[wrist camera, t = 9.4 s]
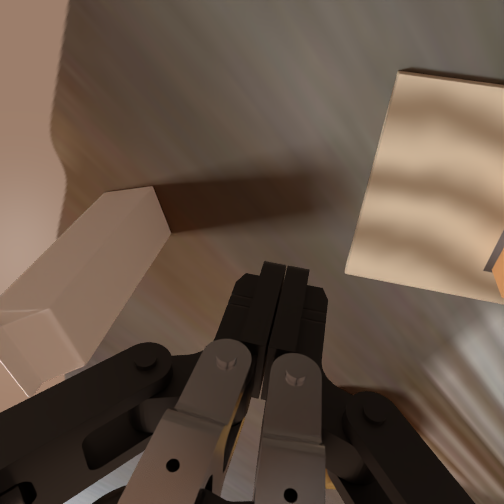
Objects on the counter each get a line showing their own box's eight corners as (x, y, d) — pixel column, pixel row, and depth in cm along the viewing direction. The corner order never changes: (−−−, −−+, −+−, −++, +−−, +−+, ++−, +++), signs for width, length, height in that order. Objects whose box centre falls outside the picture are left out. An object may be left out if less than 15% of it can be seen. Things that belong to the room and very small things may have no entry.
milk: (153, 185, 46) (22, 340, 28) (172, 233, 49) (65, 400, 31) (103, 191, 48) (-49, 341, 30) (124, 238, 51) (-2, 398, 33)
